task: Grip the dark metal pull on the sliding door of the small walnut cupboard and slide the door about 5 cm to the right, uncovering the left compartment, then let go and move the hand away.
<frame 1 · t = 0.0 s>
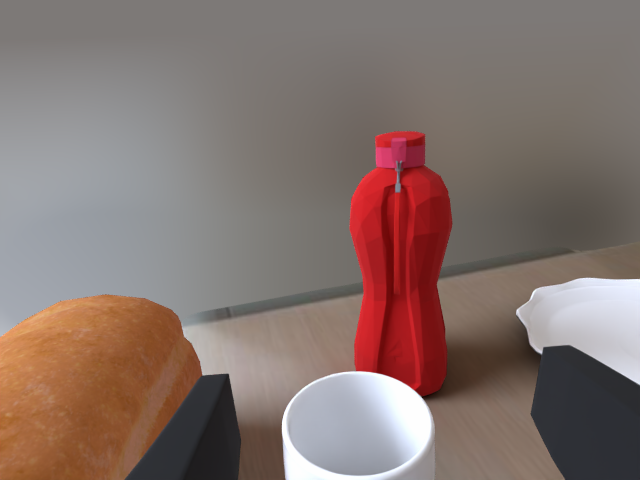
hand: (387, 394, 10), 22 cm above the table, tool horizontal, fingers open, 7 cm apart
water bottle: (400, 378, 44), on the table
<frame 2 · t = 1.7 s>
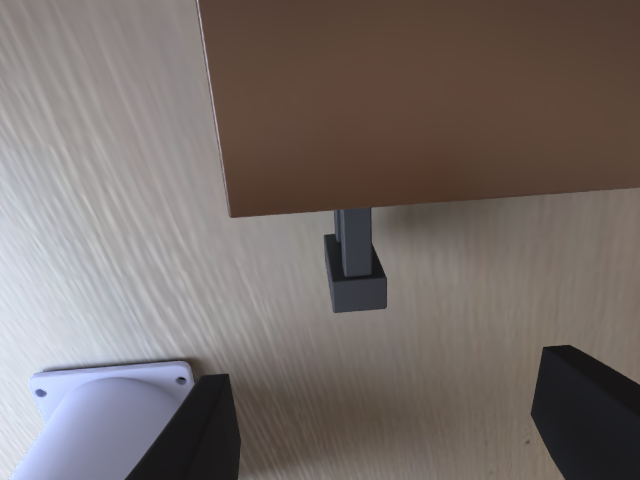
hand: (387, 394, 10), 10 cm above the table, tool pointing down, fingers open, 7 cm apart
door: (381, 216, 15), point 4 cm above the table, slide at 0.0 cm
cupboard: (438, 9, 16), on the table
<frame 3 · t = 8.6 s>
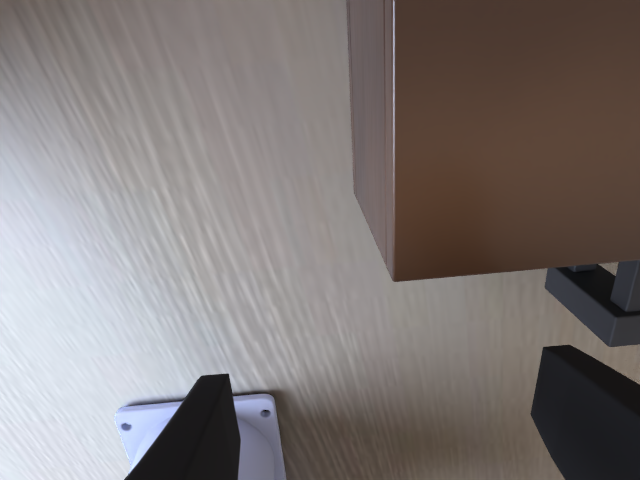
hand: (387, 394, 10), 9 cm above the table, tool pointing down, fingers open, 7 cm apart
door: (637, 248, 15), point 4 cm above the table, slide at 5.0 cm
cupboard: (547, 49, 16), on the table
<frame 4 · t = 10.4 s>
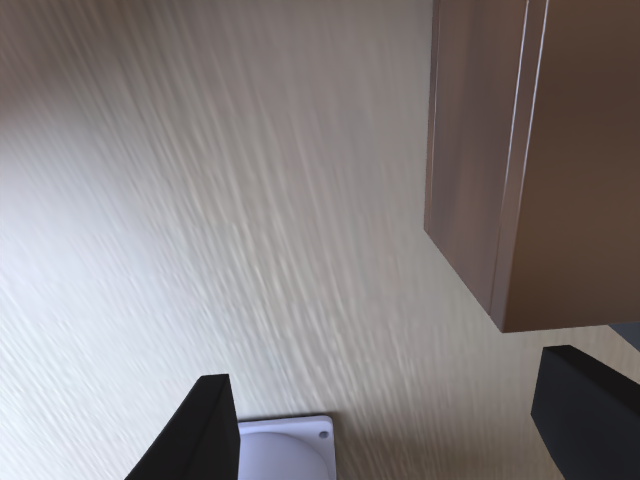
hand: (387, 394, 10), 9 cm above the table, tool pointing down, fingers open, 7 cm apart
cupboard: (616, 98, 17), on the table
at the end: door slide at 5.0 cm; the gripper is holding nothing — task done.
